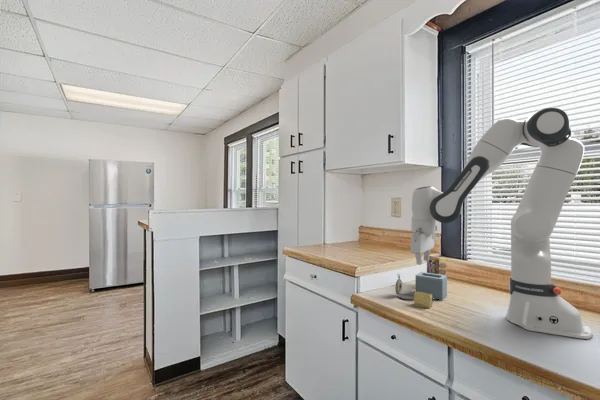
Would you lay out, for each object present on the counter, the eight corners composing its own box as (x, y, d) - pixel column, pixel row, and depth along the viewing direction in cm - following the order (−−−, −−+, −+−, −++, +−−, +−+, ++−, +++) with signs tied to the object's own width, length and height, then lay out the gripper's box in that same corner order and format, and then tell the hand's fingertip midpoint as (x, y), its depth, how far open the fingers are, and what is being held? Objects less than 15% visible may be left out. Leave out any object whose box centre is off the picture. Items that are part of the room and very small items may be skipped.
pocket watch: (417, 300, 129) (417, 276, 129) (397, 300, 129) (397, 276, 129) (411, 294, 137) (411, 272, 137) (392, 294, 137) (392, 272, 137)
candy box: (446, 291, 142) (446, 258, 142) (438, 292, 141) (438, 258, 141) (434, 286, 151) (434, 254, 151) (426, 286, 150) (426, 255, 150)
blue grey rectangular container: (446, 296, 135) (446, 275, 135) (442, 300, 129) (442, 279, 129) (420, 291, 142) (420, 271, 142) (415, 295, 135) (415, 275, 135)
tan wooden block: (432, 306, 122) (432, 294, 122) (430, 308, 119) (430, 295, 119) (416, 303, 125) (416, 291, 125) (414, 305, 123) (414, 293, 123)
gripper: (423, 230, 112) (423, 268, 112) (438, 226, 128) (437, 259, 128) (406, 228, 116) (406, 265, 116) (422, 225, 132) (422, 257, 132)
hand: (422, 262), depth 122 cm, fingers open, 8 cm apart
